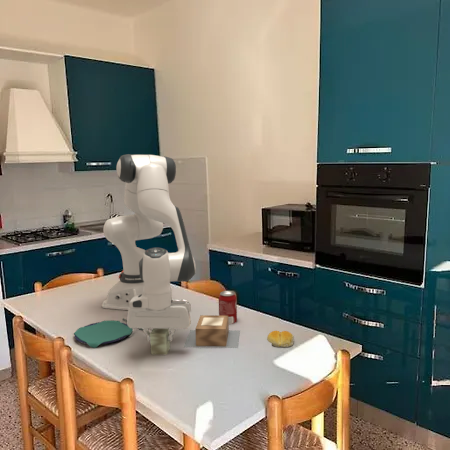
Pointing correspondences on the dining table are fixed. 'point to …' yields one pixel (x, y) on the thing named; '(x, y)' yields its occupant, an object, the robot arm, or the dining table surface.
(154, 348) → the sage block
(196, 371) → the dining table surface
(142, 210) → the robot arm
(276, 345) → the bread roll
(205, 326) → the wooden cube box
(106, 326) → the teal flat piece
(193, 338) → the grey flat slab
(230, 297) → the soda can
